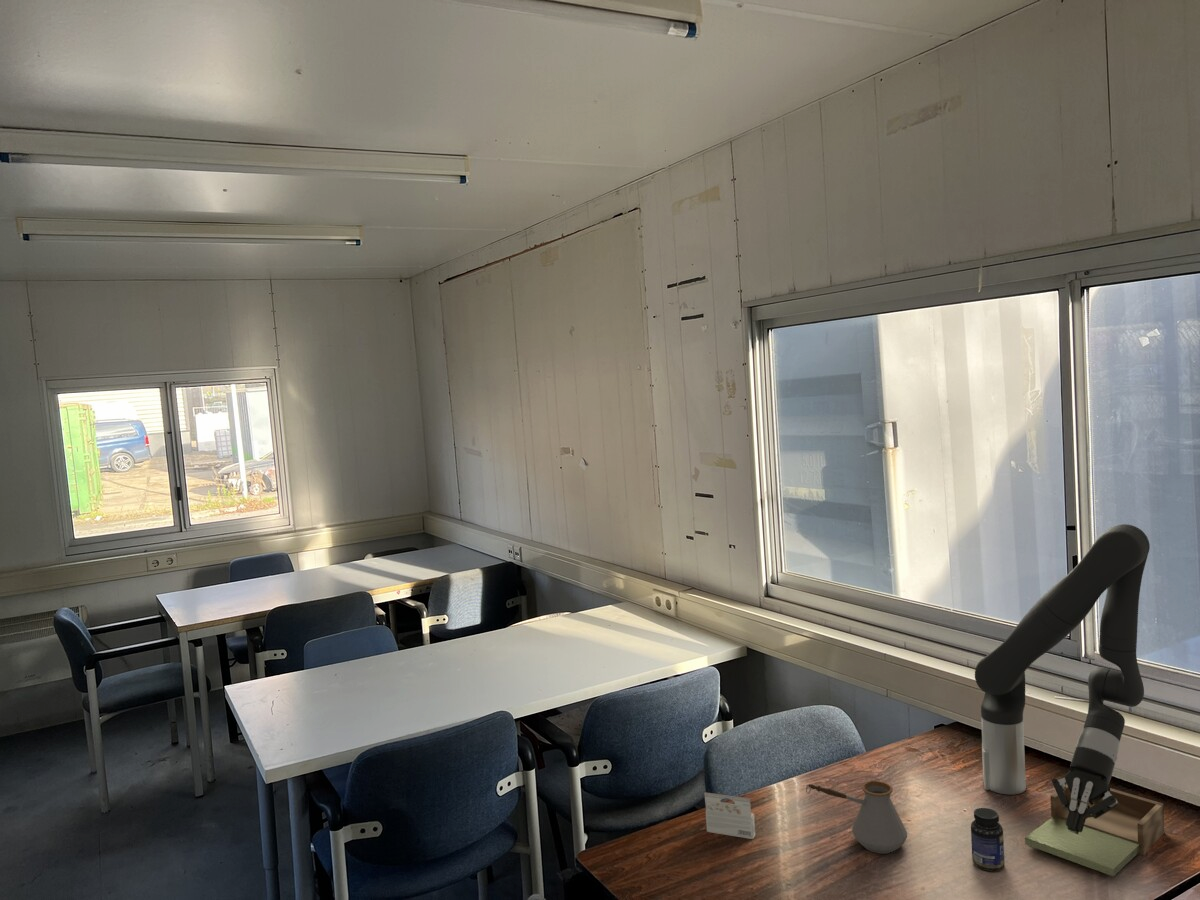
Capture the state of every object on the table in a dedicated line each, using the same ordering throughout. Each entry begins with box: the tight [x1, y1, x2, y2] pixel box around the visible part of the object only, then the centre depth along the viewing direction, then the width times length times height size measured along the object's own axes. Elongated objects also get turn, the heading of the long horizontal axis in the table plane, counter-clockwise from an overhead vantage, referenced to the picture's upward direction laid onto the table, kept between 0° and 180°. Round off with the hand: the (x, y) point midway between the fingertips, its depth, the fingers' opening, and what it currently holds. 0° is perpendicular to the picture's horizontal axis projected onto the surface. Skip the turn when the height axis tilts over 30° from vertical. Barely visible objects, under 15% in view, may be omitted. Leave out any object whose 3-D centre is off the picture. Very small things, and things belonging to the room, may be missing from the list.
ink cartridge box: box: [703, 791, 756, 840], centre depth 195 cm, size 2×11×10 cm, turn 65°
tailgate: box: [1024, 816, 1140, 877], centre depth 177 cm, size 2×17×14 cm
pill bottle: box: [970, 807, 1006, 873], centre depth 175 cm, size 6×6×11 cm
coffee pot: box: [805, 780, 908, 854], centre depth 186 cm, size 21×12×15 cm, turn 92°
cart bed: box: [1050, 784, 1165, 856], centre depth 185 cm, size 12×18×6 cm, turn 39°
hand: (1072, 831), depth 175 cm, fingers closed
